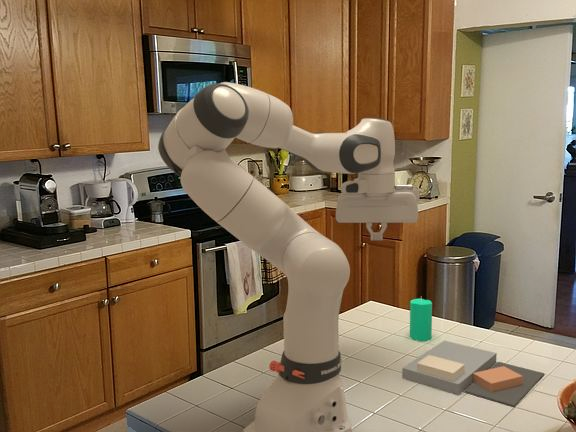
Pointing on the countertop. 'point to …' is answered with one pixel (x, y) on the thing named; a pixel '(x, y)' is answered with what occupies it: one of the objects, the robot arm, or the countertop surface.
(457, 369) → the cream tile
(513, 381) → the terracotta tile
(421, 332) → the candle
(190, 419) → the countertop surface
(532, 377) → the mat
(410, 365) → the platform
